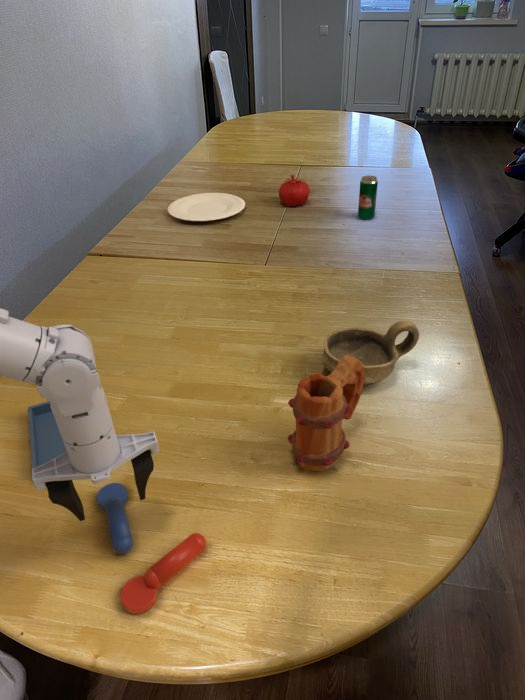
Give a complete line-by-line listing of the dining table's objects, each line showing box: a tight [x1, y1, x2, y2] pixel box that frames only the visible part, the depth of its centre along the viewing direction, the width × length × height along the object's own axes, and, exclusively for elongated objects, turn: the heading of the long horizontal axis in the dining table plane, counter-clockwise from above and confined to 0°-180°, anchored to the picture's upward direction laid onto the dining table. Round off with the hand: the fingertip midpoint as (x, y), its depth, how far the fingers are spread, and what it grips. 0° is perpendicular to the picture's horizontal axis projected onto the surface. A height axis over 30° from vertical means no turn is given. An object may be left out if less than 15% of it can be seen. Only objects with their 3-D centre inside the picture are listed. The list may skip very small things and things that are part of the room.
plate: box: [167, 192, 246, 223], centre depth 166 cm, size 25×25×2 cm
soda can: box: [357, 174, 379, 221], centre depth 154 cm, size 5×5×12 cm
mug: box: [287, 355, 365, 472], centre depth 76 cm, size 15×8×15 cm, turn 136°
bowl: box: [320, 319, 420, 385], centre depth 93 cm, size 14×18×10 cm
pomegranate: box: [278, 174, 311, 207], centre depth 167 cm, size 10×10×9 cm
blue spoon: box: [96, 482, 134, 555], centre depth 70 cm, size 12×4×3 cm, turn 23°
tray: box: [27, 400, 67, 469], centre depth 84 cm, size 15×9×2 cm, turn 23°
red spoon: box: [120, 532, 207, 615], centre depth 64 cm, size 12×4×3 cm, turn 135°
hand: (112, 504), depth 67 cm, fingers open, 7 cm apart
